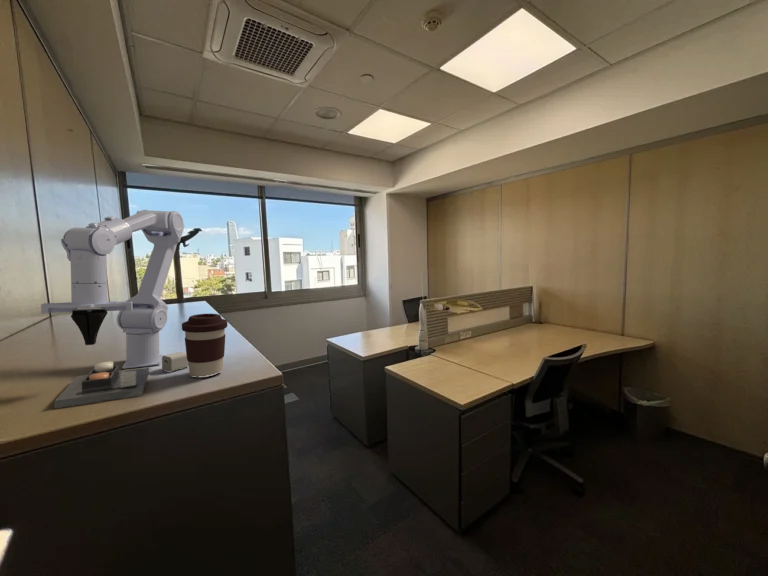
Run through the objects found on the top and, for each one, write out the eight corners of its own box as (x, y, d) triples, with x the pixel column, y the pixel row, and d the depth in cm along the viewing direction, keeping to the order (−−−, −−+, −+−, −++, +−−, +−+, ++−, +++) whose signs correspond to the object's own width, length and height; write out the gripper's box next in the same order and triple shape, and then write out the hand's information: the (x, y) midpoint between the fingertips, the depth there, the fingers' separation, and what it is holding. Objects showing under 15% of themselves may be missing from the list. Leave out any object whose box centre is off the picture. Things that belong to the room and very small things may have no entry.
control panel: (77, 382, 71) (77, 369, 70) (148, 373, 78) (148, 362, 78) (54, 408, 58) (54, 393, 58) (142, 395, 65) (142, 381, 65)
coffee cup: (201, 384, 73) (200, 321, 71) (174, 376, 77) (172, 316, 75) (236, 370, 82) (236, 314, 80) (210, 364, 86) (209, 310, 84)
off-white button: (96, 369, 72) (96, 362, 72) (114, 367, 73) (114, 360, 73) (93, 373, 69) (92, 366, 69) (112, 371, 71) (111, 364, 71)
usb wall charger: (162, 370, 81) (161, 355, 81) (188, 363, 87) (188, 349, 87) (171, 372, 79) (171, 357, 79) (197, 365, 86) (197, 351, 85)
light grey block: (122, 384, 66) (122, 372, 66) (136, 382, 67) (136, 370, 67) (120, 387, 64) (120, 375, 64) (135, 385, 66) (135, 373, 66)
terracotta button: (91, 380, 67) (91, 373, 67) (110, 378, 69) (110, 371, 69) (87, 385, 65) (87, 378, 65) (107, 382, 67) (107, 375, 66)
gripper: (34, 283, 61) (36, 352, 62) (129, 284, 69) (130, 344, 69) (47, 281, 67) (49, 344, 67) (133, 282, 74) (134, 338, 75)
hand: (90, 344), depth 69 cm, fingers closed
